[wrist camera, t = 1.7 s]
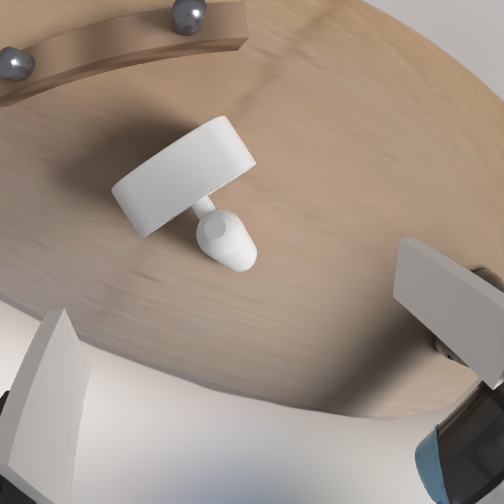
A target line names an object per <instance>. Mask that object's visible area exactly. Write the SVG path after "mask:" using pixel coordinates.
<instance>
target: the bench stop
mask: <svg viewBox="0 0 504 504" xmlns="http://www.w3.org/2000/svg"><path fill="white" fill-rule="evenodd" d="M248 38H249V35H248V27H247V19H246V12H245V4H244V1H240V2H219V3H206V2H205V1H204V0H176V1H175V3H174V5H173V7H171V8H164V9H158V10H153V11H147V12H142V13H137V14H132V15H128V16H123V17H119V18H115V19H111V20H107V21H103V22H99V23H96V24H92V25H89V26H86V27H82V28H79V29H76V30H73V31H70V32H67V33H64V34H61V35H59V36H56V37H53V38H50V39H48V40H45V41H43V42H40V43H38V44H35V45H33V46H30V47H28V48H26V49H24V50H21V51H20V50H18V49H15V48H13V47H6V48H4V49H2V50H1V51H0V106H9V105H11V104H14V103H16V102H18V101H21V100H23V99H25V98H28V97H30V96H33V95H35V94H38V93H41V92H43V91H46V90H49V89H52V88H54V87H57V86H60V85H63V84H66V83H69V82H72V81H75V80H79V79H82V78H85V77H89V76H92V75H96V74H99V73H103V72H107V71H111V70H115V69H119V68H123V67H127V66H132V65H136V64H141V63H146V62H151V61H156V60H162V59H168V58H174V57H180V56H187V55H195V54H203V53H212V52H222V51H235V50H239V48H240V47H241V46H242V45H243V44H244V42H245V41H246V40H247V39H248Z"/></svg>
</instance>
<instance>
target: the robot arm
mask: <svg viewBox="0 0 504 504" xmlns="http://www.w3.org/2000/svg"><path fill="white" fill-rule="evenodd" d="M393 297H394V298H395V299H396V300H397V301H398V302H399V303H401V304H402V305H403V306H404V307H405V308H406V309H407V310H408V311H410V312H411V313H412V314H413V315H414V316H415V317H416V318H417V319H418V320H420V321H421V322H422V323H423V324H424V325H425V326H426V327H427V328H428V329H430V330H431V331H432V332H433V333H434V345H435V347H436V349H437V350H438V351H439V352H440V353H441V354H442V355H443V356H444V357H446V358H447V359H450V360H454V361H456V362H458V363H460V364H462V365H464V366H467V367H469V368H471V369H472V370H473V371H474V372H475V373H476V374H477V375H478V376H479V377H480V378H481V379H482V381H481V383H480V384H479V385H478V386H477V387H476V388H475V389H474V390H473V391H472V392H471V393H470V395H469V396H468V397H467V398H466V399H465V400H464V401H463V402H462V403H461V404H460V405H459V406H458V407H457V408H456V409H455V410H454V411H453V412H452V413H451V414H450V415H449V416H448V417H447V418H446V419H445V420H444V421H443V422H442V423H440V424H439V425H436V426H435V428H434V430H433V431H432V432H431V433H430V434H429V435H428V436H426V437H425V438H424V439H423V440H422V441H421V442H420V443H419V445H418V446H417V448H416V451H415V461H416V467H417V470H418V473H419V476H420V478H421V480H422V483H423V485H424V487H425V488H426V490H427V492H428V494H429V495H430V497H431V498H432V500H433V501H434V502H436V503H437V504H504V282H503V281H502V279H501V278H500V277H499V276H498V275H497V274H495V273H493V272H492V271H490V270H488V269H479V270H477V271H475V272H473V273H472V272H471V271H469V270H468V269H466V268H464V267H463V266H461V265H460V264H458V263H456V262H455V261H453V260H451V259H450V258H448V257H447V256H445V255H443V254H442V253H440V252H438V251H436V250H435V249H433V248H431V247H430V246H428V245H426V244H424V243H423V242H421V241H419V240H418V239H416V238H414V237H412V236H411V237H407V238H403V239H399V240H398V252H397V262H396V272H395V280H394V288H393ZM90 368H91V363H90V361H89V359H88V357H87V355H86V353H85V351H84V349H83V347H82V345H81V343H80V341H79V339H78V337H77V335H76V332H75V330H74V328H73V326H72V324H71V321H70V319H69V317H68V315H67V312H66V310H65V308H60V309H54V310H48V311H47V313H46V315H45V317H44V319H43V321H42V322H41V324H40V326H39V328H38V330H37V333H36V334H35V336H34V339H33V340H32V342H31V344H30V347H29V349H28V351H27V353H26V355H25V357H24V359H23V362H22V364H21V366H20V369H19V371H18V373H17V375H16V378H15V380H14V382H13V385H12V387H11V390H10V391H6V392H5V393H4V394H3V396H2V397H1V398H0V504H70V501H71V500H70V499H71V487H72V476H73V467H74V458H75V451H76V444H77V437H78V430H79V424H80V418H81V413H82V407H83V402H84V396H85V391H86V387H87V382H88V377H89V373H90Z"/></svg>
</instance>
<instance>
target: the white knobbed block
mask: <svg viewBox="0 0 504 504" xmlns="http://www.w3.org/2000/svg"><path fill="white" fill-rule="evenodd" d="M255 164H256V162H255V161H254V159H253V158H252V156H251V155H250V153H249V151H248V150H247V148H246V147H245V145H244V144H243V142H242V140H241V139H240V137H239V136H238V134H237V133H236V131H235V130H234V128H233V127H232V125H231V124H230V122H229V121H228V119H227V118H226V116H219V117H216V118H214V119H212V120H210V121H208V122H206V123H204V124H202V125H201V126H199V127H197V128H196V129H194V130H193V131H191V132H189V133H188V134H186V135H185V136H183V137H181V138H180V139H178V140H177V141H175V142H174V143H172V144H171V145H169V146H168V147H166V148H165V149H163V150H162V151H160V152H159V153H157V154H156V155H154V156H153V157H151V158H150V159H148V160H147V161H145V162H144V163H143V164H141V165H140V166H138V167H137V168H136V169H134V170H133V171H131V172H130V173H129V174H127V175H126V176H125V177H123V178H122V179H121V180H120V181H119V182H117V183H116V184H115V186H114V187H113V188H112V193H113V195H114V197H115V198H116V200H117V202H118V203H119V205H120V207H121V208H122V210H123V211H124V213H125V215H126V216H127V218H128V219H129V221H130V222H131V224H132V226H133V227H134V229H135V230H136V232H137V233H138V235H139V236H140V238H141V239H142V238H143V237H145V236H147V235H148V234H150V233H152V232H153V231H155V230H157V229H158V228H160V227H161V226H163V225H164V224H166V223H167V222H169V221H170V220H172V219H173V218H175V217H176V216H178V215H179V214H181V213H182V212H184V211H185V210H187V209H188V208H190V207H192V209H193V211H194V212H195V214H196V215H197V217H198V218H199V220H200V222H199V224H198V226H197V230H196V237H197V241H198V244H199V246H200V248H201V249H202V250H203V251H204V252H205V253H206V254H207V255H209V256H210V257H212V258H213V259H215V260H216V261H218V262H219V263H221V264H222V265H224V266H225V267H227V268H229V269H230V270H232V271H236V272H242V271H245V270H247V269H249V268H250V267H251V266H252V265H253V264H254V263H255V260H256V257H257V250H256V247H255V245H254V243H253V241H252V239H251V238H250V236H249V234H248V232H247V231H246V229H245V227H244V225H243V224H242V222H241V220H240V219H239V218H238V217H237V216H236V215H235V214H233V213H231V212H229V211H226V210H217V209H216V208H215V206H214V205H213V203H212V202H211V200H210V199H209V197H208V195H210V194H211V193H213V192H215V191H216V190H218V189H219V188H221V187H222V186H224V185H226V184H227V183H229V182H230V181H232V180H233V179H235V178H237V177H238V176H240V175H241V174H243V173H245V172H246V171H248V170H249V169H250V168H251V167H253V166H254V165H255Z"/></svg>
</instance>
